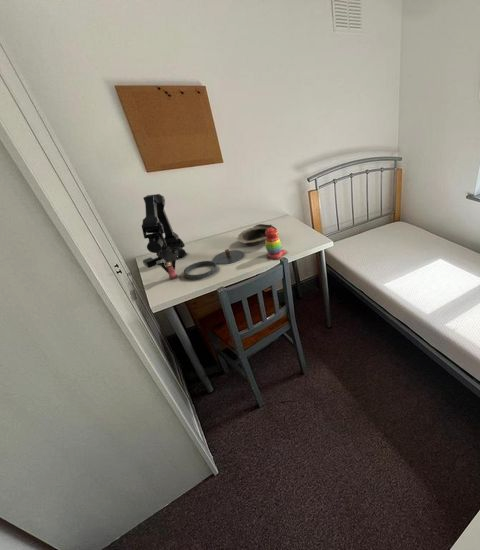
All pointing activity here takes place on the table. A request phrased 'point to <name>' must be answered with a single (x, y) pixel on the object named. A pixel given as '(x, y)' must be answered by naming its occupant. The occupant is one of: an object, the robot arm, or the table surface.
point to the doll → (171, 270)
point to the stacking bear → (273, 244)
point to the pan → (204, 275)
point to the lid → (228, 257)
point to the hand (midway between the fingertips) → (170, 271)
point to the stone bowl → (254, 235)
